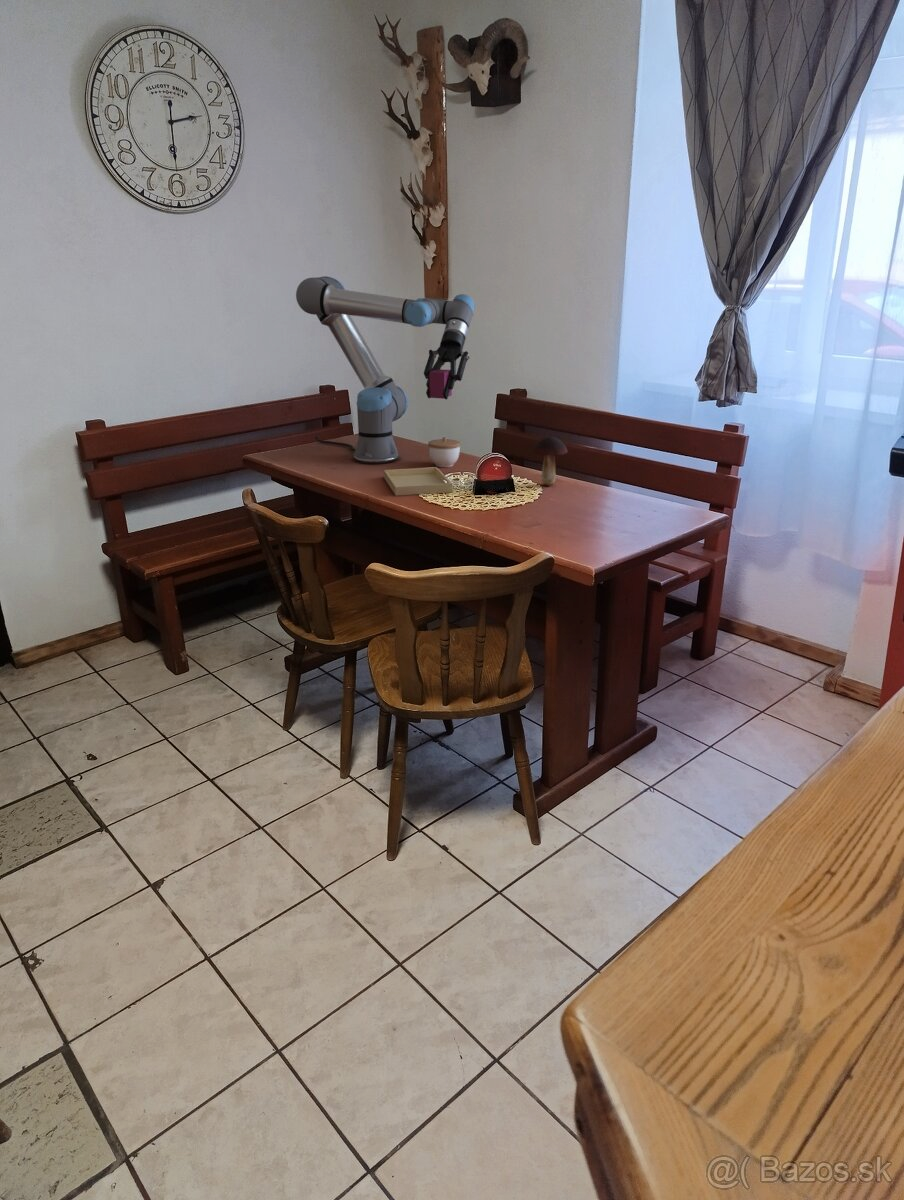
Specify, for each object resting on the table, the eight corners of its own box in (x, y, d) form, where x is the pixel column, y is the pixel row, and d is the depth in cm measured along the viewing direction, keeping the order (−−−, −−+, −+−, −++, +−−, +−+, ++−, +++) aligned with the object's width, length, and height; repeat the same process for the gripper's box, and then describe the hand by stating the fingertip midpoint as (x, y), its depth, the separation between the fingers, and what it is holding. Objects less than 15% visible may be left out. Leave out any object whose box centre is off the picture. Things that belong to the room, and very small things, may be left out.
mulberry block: (437, 394, 265) (437, 369, 262) (451, 395, 264) (451, 369, 261) (429, 397, 259) (429, 371, 256) (444, 398, 258) (444, 372, 255)
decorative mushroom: (570, 488, 246) (573, 439, 240) (536, 490, 244) (538, 441, 238) (558, 479, 256) (561, 432, 250) (525, 481, 254) (527, 433, 248)
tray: (384, 478, 258) (383, 470, 257) (436, 474, 262) (436, 467, 261) (395, 495, 239) (395, 487, 238) (452, 492, 243) (452, 483, 242)
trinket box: (437, 470, 268) (437, 442, 264) (423, 463, 276) (422, 436, 273) (465, 466, 272) (466, 438, 268) (451, 460, 281) (451, 433, 277)
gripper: (425, 328, 265) (406, 387, 257) (477, 330, 260) (460, 390, 252) (431, 344, 272) (413, 401, 264) (482, 346, 266) (466, 405, 259)
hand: (436, 396), depth 258 cm, fingers closed on mulberry block, 5 cm apart
